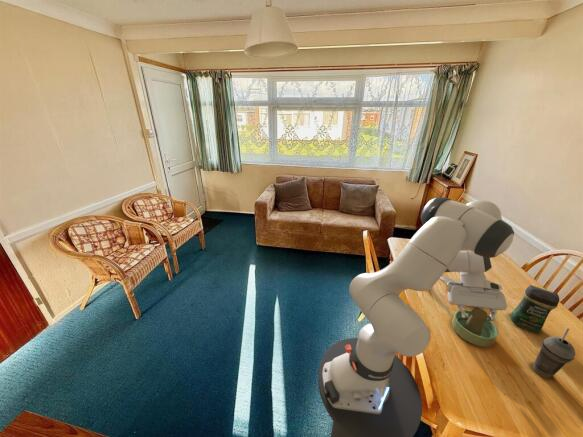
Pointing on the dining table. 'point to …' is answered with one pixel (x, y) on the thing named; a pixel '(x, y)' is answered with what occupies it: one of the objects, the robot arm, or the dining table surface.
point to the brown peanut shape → (476, 321)
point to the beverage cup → (553, 355)
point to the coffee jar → (534, 308)
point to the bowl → (483, 340)
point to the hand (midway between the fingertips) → (478, 319)
